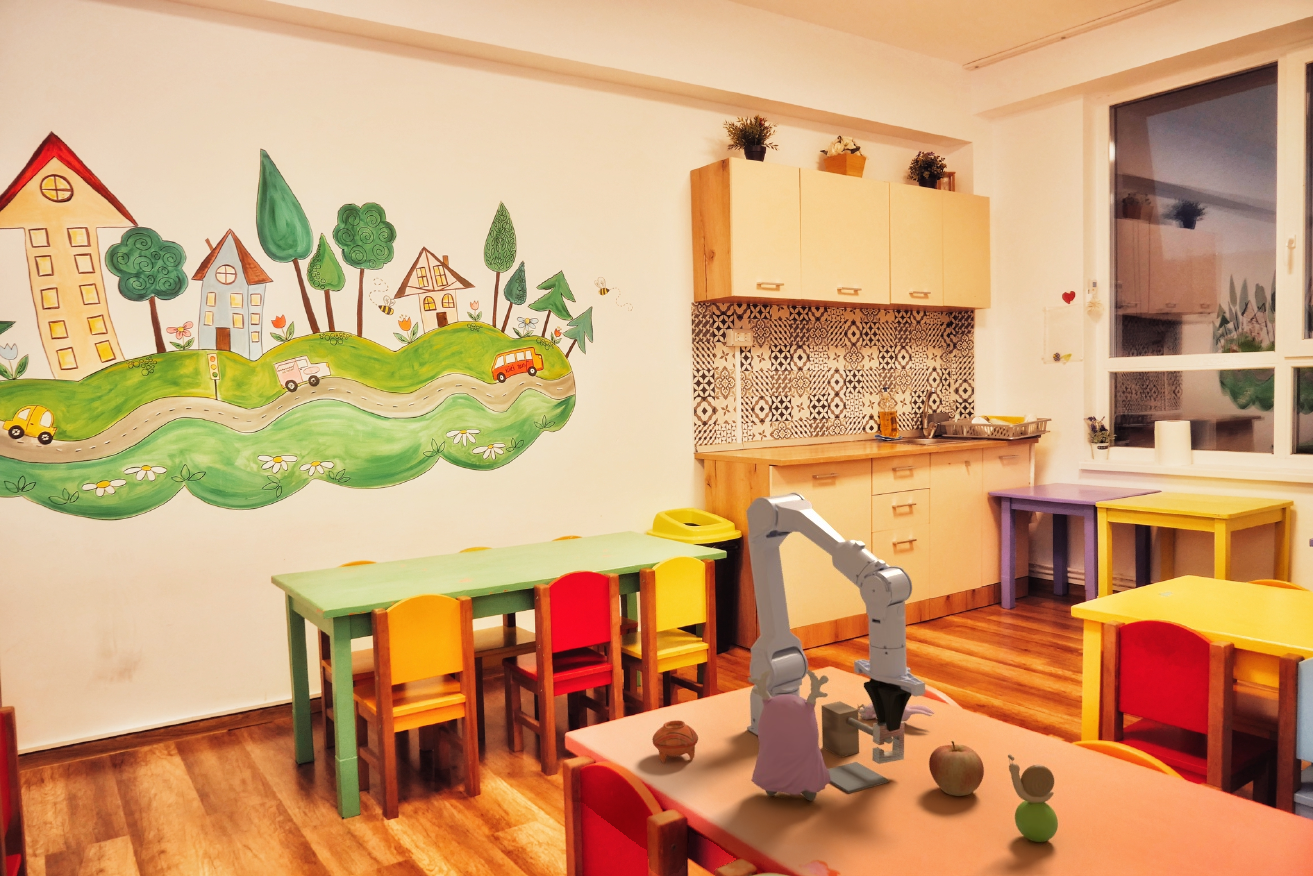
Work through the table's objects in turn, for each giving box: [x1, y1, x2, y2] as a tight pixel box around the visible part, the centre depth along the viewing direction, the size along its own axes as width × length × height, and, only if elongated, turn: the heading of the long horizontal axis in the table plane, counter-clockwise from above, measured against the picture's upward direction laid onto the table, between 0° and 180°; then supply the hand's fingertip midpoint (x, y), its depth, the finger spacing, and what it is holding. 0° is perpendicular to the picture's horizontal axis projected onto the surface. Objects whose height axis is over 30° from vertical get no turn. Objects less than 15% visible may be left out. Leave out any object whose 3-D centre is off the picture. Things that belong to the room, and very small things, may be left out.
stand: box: [821, 701, 893, 758], centre depth 150 cm, size 16×4×8 cm, turn 26°
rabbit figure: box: [856, 702, 935, 722], centre depth 167 cm, size 6×6×15 cm
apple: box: [928, 740, 985, 797], centre depth 137 cm, size 8×8×8 cm
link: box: [872, 721, 906, 765], centre depth 143 cm, size 2×5×6 cm, turn 115°
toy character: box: [747, 669, 831, 802], centre depth 137 cm, size 12×10×20 cm
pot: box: [652, 720, 699, 763], centre depth 154 cm, size 8×8×7 cm
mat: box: [827, 761, 889, 794], centre depth 143 cm, size 8×8×1 cm
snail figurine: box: [1007, 753, 1059, 843], centre depth 122 cm, size 5×6×12 cm
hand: (889, 727), depth 143 cm, fingers closed on link, 1 cm apart
